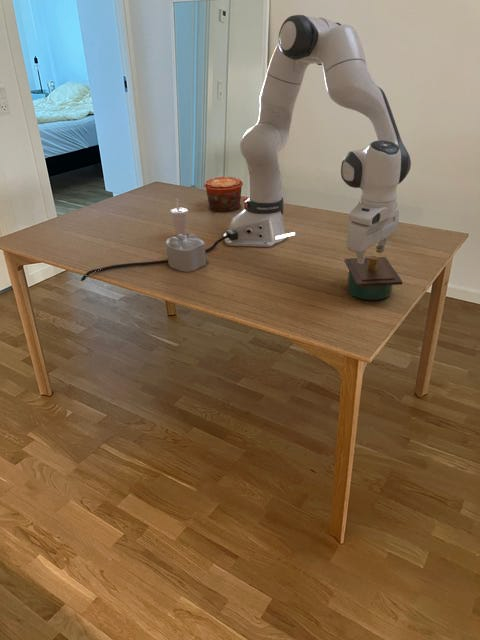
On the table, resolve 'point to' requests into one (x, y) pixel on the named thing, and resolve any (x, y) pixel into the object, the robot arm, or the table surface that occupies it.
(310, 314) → the table surface
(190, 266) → the lumpy-topped squat cylinder
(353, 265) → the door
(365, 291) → the bowl
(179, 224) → the smoothie
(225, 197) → the food container
